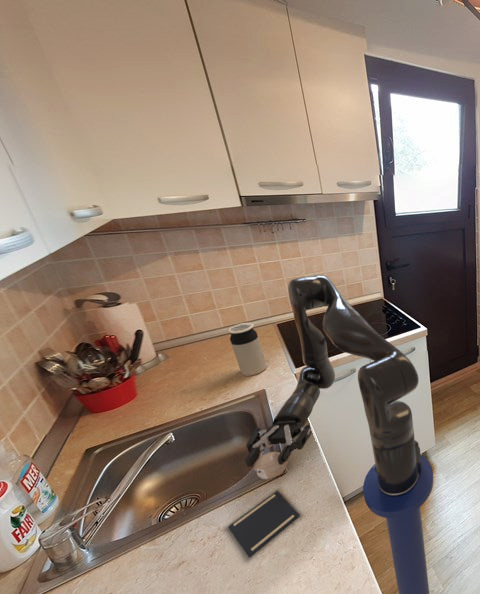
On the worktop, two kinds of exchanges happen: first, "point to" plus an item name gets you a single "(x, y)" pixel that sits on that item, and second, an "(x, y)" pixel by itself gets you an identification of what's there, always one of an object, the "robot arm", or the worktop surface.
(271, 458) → the tan rounded piece
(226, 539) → the worktop surface
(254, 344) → the travel mug
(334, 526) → the worktop surface
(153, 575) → the worktop surface
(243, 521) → the slate mat
